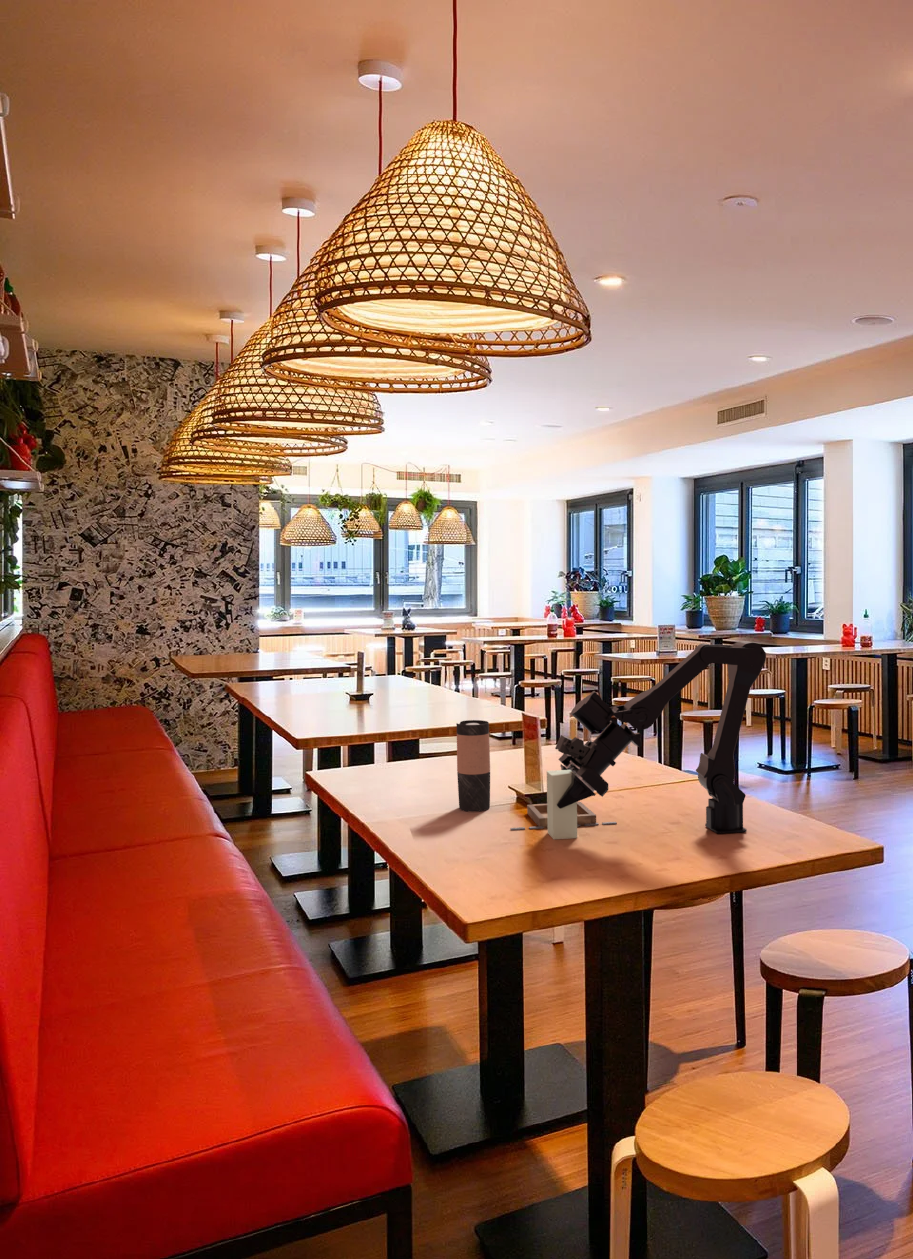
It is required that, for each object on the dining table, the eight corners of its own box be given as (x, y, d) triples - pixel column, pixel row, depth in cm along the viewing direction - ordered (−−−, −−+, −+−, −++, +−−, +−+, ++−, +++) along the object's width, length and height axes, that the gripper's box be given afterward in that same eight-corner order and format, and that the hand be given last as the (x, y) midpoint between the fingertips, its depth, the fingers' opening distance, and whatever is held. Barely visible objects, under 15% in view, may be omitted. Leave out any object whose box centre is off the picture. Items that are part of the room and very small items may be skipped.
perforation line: (615, 823, 202) (615, 821, 202) (616, 824, 201) (616, 822, 201) (510, 829, 199) (510, 827, 199) (511, 830, 198) (511, 828, 198)
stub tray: (580, 810, 214) (580, 801, 213) (596, 824, 201) (596, 815, 201) (527, 813, 212) (527, 804, 212) (539, 827, 200) (539, 818, 200)
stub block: (571, 831, 196) (570, 769, 195) (577, 837, 191) (576, 774, 190) (547, 832, 195) (546, 770, 195) (553, 839, 191) (552, 776, 190)
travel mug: (496, 809, 216) (494, 723, 215) (465, 813, 213) (463, 726, 212) (483, 802, 223) (481, 719, 222) (453, 806, 220) (451, 721, 219)
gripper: (567, 715, 202) (518, 768, 201) (591, 728, 183) (537, 787, 182) (603, 749, 203) (554, 803, 202) (631, 766, 185) (577, 825, 184)
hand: (555, 803), depth 193 cm, fingers closed on stub block, 5 cm apart
